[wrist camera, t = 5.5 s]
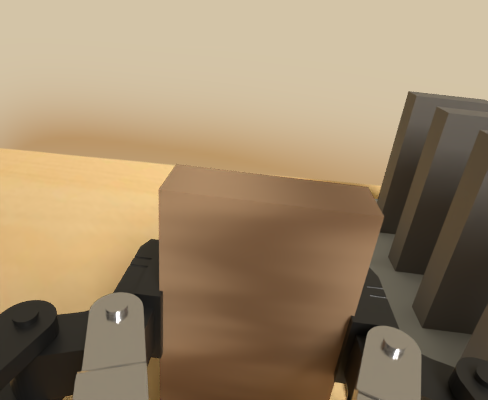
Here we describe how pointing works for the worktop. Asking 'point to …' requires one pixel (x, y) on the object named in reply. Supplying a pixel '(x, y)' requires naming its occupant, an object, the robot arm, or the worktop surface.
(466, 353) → the domino
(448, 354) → the runner mat
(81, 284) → the worktop surface
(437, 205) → the domino
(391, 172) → the domino
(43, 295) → the worktop surface
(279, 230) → the domino
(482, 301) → the domino
